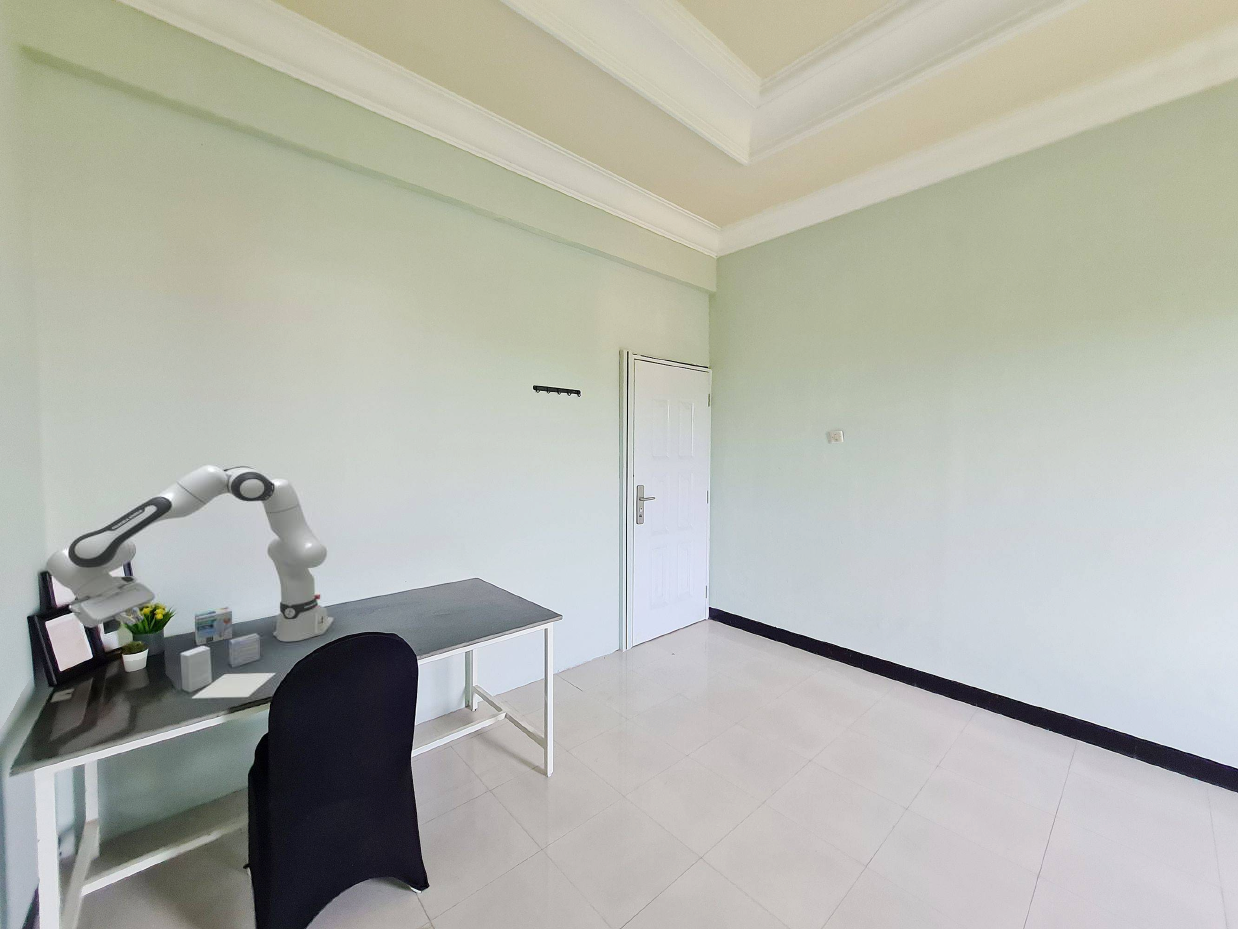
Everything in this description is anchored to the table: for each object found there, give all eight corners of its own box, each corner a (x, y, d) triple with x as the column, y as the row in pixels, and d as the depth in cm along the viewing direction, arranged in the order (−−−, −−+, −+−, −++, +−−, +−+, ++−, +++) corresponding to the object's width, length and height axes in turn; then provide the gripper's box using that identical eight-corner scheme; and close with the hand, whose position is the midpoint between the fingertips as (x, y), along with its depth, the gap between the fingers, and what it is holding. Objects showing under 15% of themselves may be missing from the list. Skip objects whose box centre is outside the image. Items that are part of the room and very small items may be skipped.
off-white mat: (224, 675, 157) (224, 674, 157) (276, 673, 159) (276, 672, 159) (191, 699, 143) (191, 698, 143) (247, 697, 145) (247, 696, 145)
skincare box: (204, 680, 153) (203, 645, 152) (212, 683, 152) (210, 647, 151) (181, 690, 148) (179, 653, 147) (189, 693, 146) (187, 656, 145)
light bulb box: (197, 646, 176) (195, 618, 176) (194, 640, 181) (193, 613, 180) (233, 637, 184) (232, 610, 183) (230, 632, 189) (229, 605, 188)
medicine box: (257, 655, 170) (256, 632, 170) (260, 659, 168) (259, 636, 167) (229, 663, 164) (228, 639, 164) (232, 668, 162) (231, 643, 161)
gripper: (73, 596, 134) (112, 629, 136) (138, 574, 155) (172, 603, 157) (56, 611, 134) (96, 644, 136) (124, 587, 155) (158, 616, 156)
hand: (137, 622), depth 146 cm, fingers closed
